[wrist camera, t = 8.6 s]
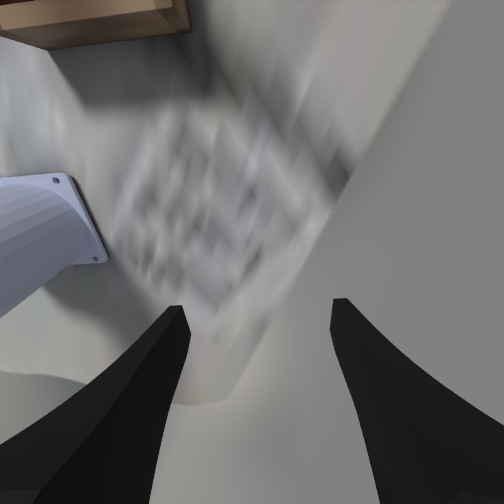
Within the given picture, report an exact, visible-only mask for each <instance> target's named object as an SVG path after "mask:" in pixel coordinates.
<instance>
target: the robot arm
mask: <svg viewBox="0 0 504 504" xmlns="http://www.w3.org/2000/svg"><path fill="white" fill-rule="evenodd" d="M56 178H58V179H59V181H60V183H59V182H58V181H57V179H56ZM96 257H97V258H98V259H97V258H96ZM107 260H108V255H107V253H106V251H105V249H104V247H103V245H102V242H101V240H100V238H99V236H98V234H97V232H96V230H95V227H94V225H93V223H92V221H91V219H90V217H89V215H88V212H87V210H86V208H85V206H84V204H83V202H82V200H81V197H80V195H79V193H78V191H77V189H76V187H75V185H74V183H73V180H72V178H71V177H70V176H69V175H68V174H67V173H63V172H62V173H50V174H39V175H28V176H16V177H5V178H0V318H1V317H3V316H4V315H5V314H7V313H8V312H9V311H10V310H12V309H13V308H14V307H16V306H17V305H18V304H20V303H21V302H22V301H23V300H25V299H26V298H27V297H29V296H30V295H31V294H32V293H34V292H35V291H36V290H38V289H39V288H40V287H41V286H43V285H44V284H45V283H47V282H48V281H49V280H50V279H52V278H53V277H54V276H56V275H57V274H58V273H60V272H61V271H62V270H63V269H65V268H66V267H67V266H69V265H77V264H94V263H105V262H106V261H107ZM330 333H331V337H332V342H333V345H334V350H335V353H336V355H337V358H338V361H339V364H340V367H341V369H342V372H343V375H344V378H345V380H346V383H347V386H348V388H349V391H350V394H351V396H352V399H353V402H354V405H355V408H356V411H357V415H358V418H359V422H360V426H361V429H362V433H363V437H364V440H365V444H366V448H367V452H368V456H369V460H370V464H371V468H372V472H373V476H374V480H375V484H376V488H377V492H378V496H379V501H380V504H504V426H503V425H502V424H500V423H499V422H497V421H496V420H494V419H492V418H491V417H489V416H488V415H486V414H484V413H483V412H482V411H480V410H478V409H477V408H475V407H474V406H473V405H471V404H470V403H468V402H467V401H465V400H464V399H462V398H461V397H459V396H458V395H457V394H455V393H454V392H452V391H451V390H449V389H448V388H446V387H445V386H444V385H442V384H441V383H440V382H438V381H437V380H436V379H434V378H433V377H432V376H430V375H429V374H428V373H426V372H425V371H424V370H422V369H421V368H420V367H419V366H418V365H416V364H415V363H414V362H413V361H411V360H410V359H409V358H408V357H407V356H405V355H404V354H403V353H402V352H401V351H400V350H399V349H398V348H396V347H395V346H394V345H393V344H392V343H391V342H390V341H389V340H388V339H387V338H386V337H385V336H383V335H382V334H381V333H380V332H379V331H378V330H377V329H376V328H375V327H374V326H373V325H372V324H371V323H370V322H369V321H368V320H367V319H366V318H365V317H364V316H363V315H362V314H361V312H360V311H359V310H358V309H357V308H356V307H355V306H354V305H353V304H352V303H351V302H350V301H349V300H348V299H347V298H341V299H333V306H332V315H331V323H330ZM190 338H191V332H190V329H189V326H188V323H187V320H186V316H185V313H184V310H183V307H182V305H177V306H169V307H168V308H167V309H166V310H165V311H164V312H163V313H162V315H161V316H160V317H159V318H158V319H157V320H156V321H155V322H154V323H153V324H152V325H151V326H150V327H149V328H148V329H147V330H146V331H145V332H144V333H143V335H142V336H141V337H140V338H139V339H138V340H137V341H136V342H135V343H134V344H133V345H132V346H130V347H129V348H128V349H127V350H126V351H125V352H124V353H123V354H122V355H121V356H120V357H119V358H118V359H117V360H116V361H115V362H114V363H112V364H111V365H110V366H109V367H108V368H107V369H106V370H104V371H103V372H102V373H101V374H100V375H98V376H97V377H96V378H95V379H94V380H92V381H91V382H90V383H89V384H87V385H86V386H85V387H83V388H82V389H81V390H80V391H78V392H77V393H76V394H74V395H73V396H72V397H70V398H69V399H68V400H66V401H65V402H64V403H62V404H61V405H60V406H58V407H57V408H55V409H54V410H52V411H51V412H50V413H48V414H47V415H45V416H44V417H43V418H41V419H40V420H38V421H36V422H35V423H34V424H32V425H31V426H29V427H27V428H26V429H24V430H23V431H21V432H20V433H18V434H17V435H15V436H14V437H12V438H10V439H9V440H7V441H5V442H4V443H2V444H0V504H149V499H150V494H151V489H152V483H153V479H154V474H155V469H156V464H157V459H158V455H159V450H160V446H161V441H162V437H163V432H164V428H165V424H166V420H167V416H168V412H169V409H170V405H171V402H172V399H173V396H174V393H175V390H176V387H177V384H178V381H179V378H180V375H181V372H182V369H183V366H184V363H185V360H186V357H187V353H188V348H189V343H190Z"/></svg>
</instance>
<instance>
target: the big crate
mask: <svg viewBox="0 0 504 504" xmlns="http://www.w3.org/2000/svg"><path fill="white" fill-rule="evenodd" d="M186 32H192V26H191V20H190V14H189V8H188V1H187V0H0V36H2V37H5V38H8V39H11V40H14V41H18V42H21V43H24V44H27V45H31V46H34V47H37V48H40V49H43V50H53V49H61V48H69V47H77V46H85V45H92V44H100V43H108V42H116V41H123V40H131V39H139V38H147V37H154V36H162V35H170V34H178V33H186Z"/></svg>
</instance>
